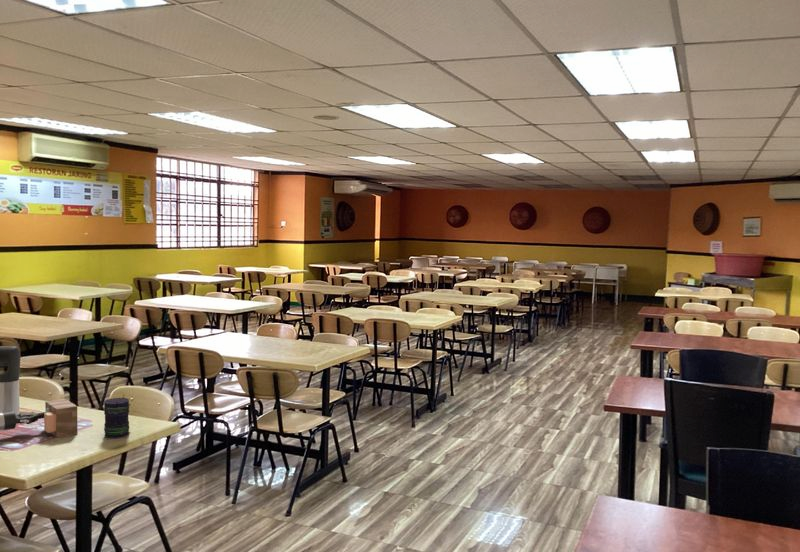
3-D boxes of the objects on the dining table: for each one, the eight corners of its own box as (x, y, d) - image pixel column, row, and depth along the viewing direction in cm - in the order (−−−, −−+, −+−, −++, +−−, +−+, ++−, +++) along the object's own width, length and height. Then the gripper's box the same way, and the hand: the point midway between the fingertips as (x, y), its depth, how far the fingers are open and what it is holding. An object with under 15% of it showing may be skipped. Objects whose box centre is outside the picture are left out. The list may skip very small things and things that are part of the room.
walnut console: (45, 428, 283) (45, 401, 282) (65, 425, 288) (65, 398, 288) (57, 437, 270) (56, 409, 270) (77, 433, 276) (77, 406, 275)
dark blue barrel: (104, 433, 278) (104, 398, 277) (129, 430, 282) (128, 397, 281) (104, 439, 268) (103, 404, 268) (129, 437, 272) (129, 402, 272)
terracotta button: (44, 430, 272) (43, 412, 272) (59, 427, 277) (59, 410, 276) (47, 432, 269) (47, 415, 268) (63, 429, 273) (63, 412, 273)
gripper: (5, 416, 263) (51, 409, 274) (-3, 409, 272) (43, 403, 284) (5, 434, 263) (51, 426, 275) (-2, 427, 273) (43, 419, 284)
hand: (47, 414), depth 279 cm, fingers closed
